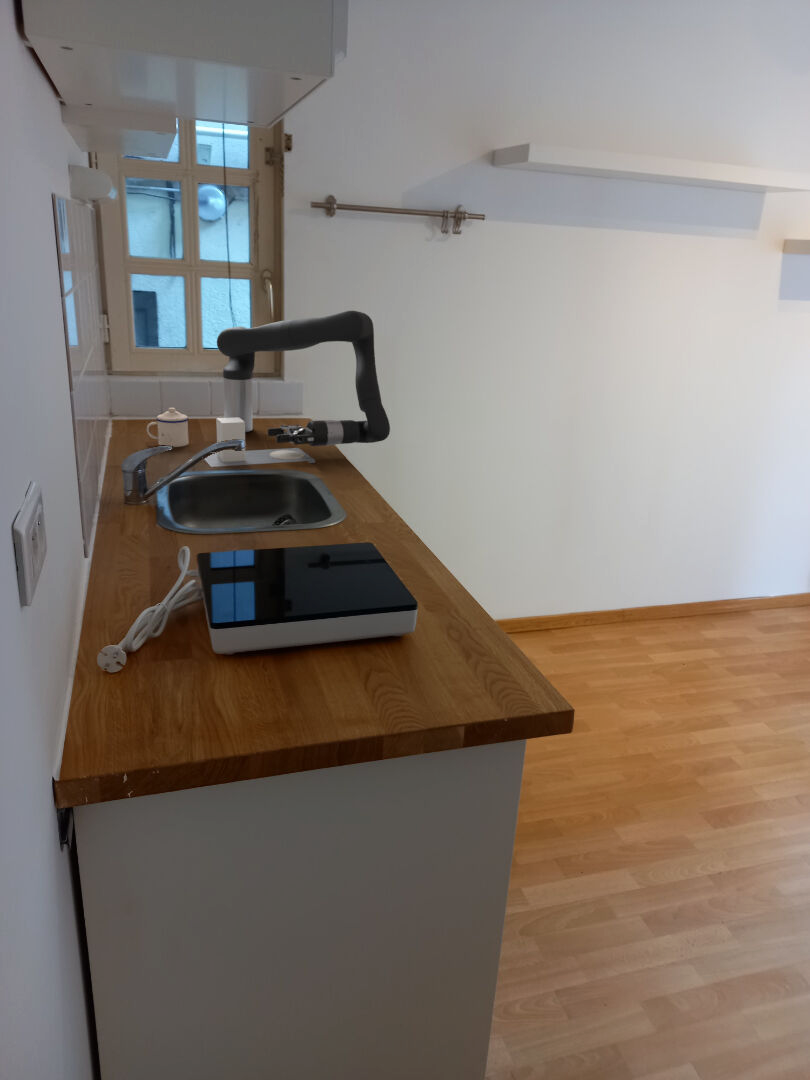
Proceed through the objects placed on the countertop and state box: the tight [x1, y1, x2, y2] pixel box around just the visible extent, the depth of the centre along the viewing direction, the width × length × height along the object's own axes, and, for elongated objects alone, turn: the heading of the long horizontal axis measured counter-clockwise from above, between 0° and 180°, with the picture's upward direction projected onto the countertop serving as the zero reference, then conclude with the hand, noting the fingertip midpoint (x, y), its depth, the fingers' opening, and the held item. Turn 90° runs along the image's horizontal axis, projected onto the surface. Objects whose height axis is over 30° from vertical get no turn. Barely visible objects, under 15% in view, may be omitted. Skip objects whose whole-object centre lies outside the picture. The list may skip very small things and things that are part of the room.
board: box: [203, 447, 316, 468], centre depth 225 cm, size 15×30×1 cm, turn 116°
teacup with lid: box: [146, 407, 189, 448], centre depth 232 cm, size 12×9×12 cm
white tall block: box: [216, 417, 246, 462], centre depth 219 cm, size 6×6×11 cm
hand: (272, 435), depth 224 cm, fingers open, 8 cm apart
